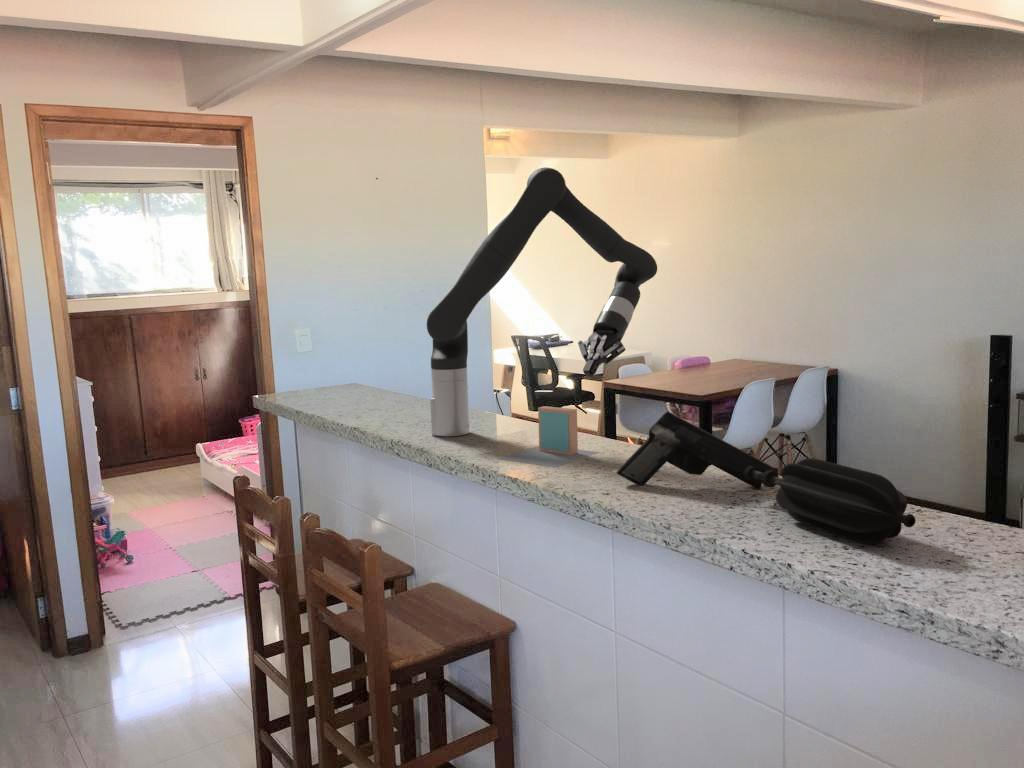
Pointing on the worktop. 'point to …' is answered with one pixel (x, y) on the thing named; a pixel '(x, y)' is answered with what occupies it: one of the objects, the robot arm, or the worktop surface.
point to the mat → (545, 457)
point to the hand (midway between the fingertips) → (587, 374)
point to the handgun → (687, 453)
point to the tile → (558, 430)
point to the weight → (839, 499)
